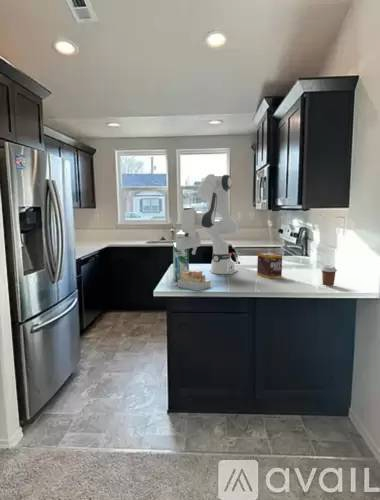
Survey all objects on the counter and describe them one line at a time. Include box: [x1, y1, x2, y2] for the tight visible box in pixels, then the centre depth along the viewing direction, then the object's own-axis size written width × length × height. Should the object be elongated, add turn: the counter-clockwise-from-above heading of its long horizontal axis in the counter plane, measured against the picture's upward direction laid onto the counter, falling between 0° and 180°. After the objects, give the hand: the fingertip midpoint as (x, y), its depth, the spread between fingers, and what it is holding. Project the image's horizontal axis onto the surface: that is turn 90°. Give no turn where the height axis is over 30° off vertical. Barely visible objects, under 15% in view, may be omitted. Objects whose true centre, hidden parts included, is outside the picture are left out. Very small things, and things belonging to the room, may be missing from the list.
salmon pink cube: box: [192, 269, 203, 277], centre depth 215 cm, size 4×4×4 cm
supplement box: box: [256, 252, 283, 279], centre depth 248 cm, size 10×15×16 cm
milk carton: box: [172, 242, 190, 282], centre depth 235 cm, size 9×9×25 cm
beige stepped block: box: [180, 269, 207, 283], centre depth 217 cm, size 6×15×5 cm, turn 51°
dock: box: [177, 279, 211, 292], centre depth 217 cm, size 12×16×4 cm
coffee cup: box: [320, 265, 338, 287], centre depth 218 cm, size 9×9×12 cm
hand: (188, 255), depth 218 cm, fingers open, 8 cm apart
